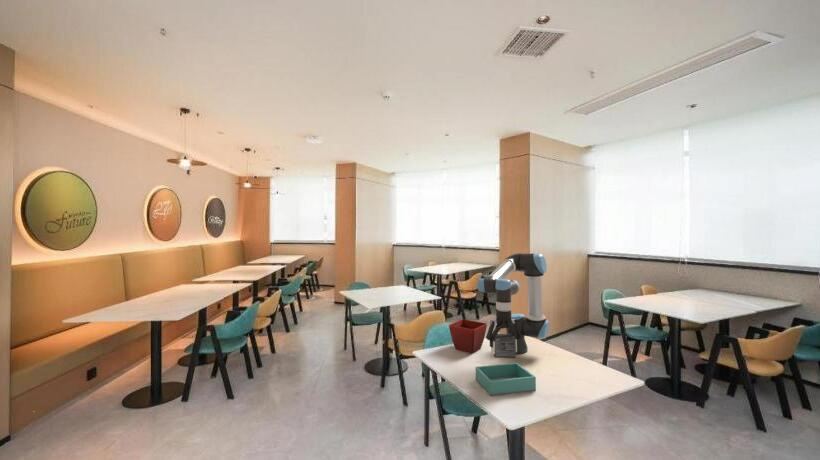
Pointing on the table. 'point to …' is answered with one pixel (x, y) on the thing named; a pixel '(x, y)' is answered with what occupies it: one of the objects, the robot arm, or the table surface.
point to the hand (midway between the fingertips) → (504, 352)
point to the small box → (505, 346)
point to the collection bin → (505, 379)
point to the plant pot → (467, 335)
